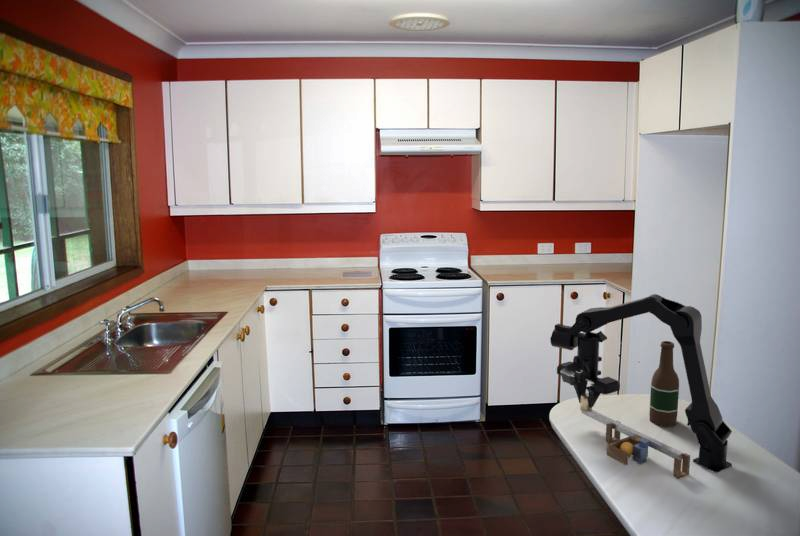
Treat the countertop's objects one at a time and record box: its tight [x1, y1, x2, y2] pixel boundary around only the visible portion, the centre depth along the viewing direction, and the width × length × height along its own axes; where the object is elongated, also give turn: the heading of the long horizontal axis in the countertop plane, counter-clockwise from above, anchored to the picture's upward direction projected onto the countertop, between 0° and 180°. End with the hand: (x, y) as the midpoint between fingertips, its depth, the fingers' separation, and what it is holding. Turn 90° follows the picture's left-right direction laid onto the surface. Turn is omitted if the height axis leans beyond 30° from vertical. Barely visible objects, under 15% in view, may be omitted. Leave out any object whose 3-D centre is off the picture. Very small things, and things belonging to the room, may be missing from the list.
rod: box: [579, 392, 684, 465], centre depth 156 cm, size 6×32×9 cm, turn 28°
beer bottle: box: [649, 340, 680, 428], centre depth 169 cm, size 8×8×24 cm
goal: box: [606, 436, 649, 466], centre depth 153 cm, size 8×6×3 cm
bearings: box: [605, 420, 691, 480], centre depth 152 cm, size 4×22×5 cm, turn 29°
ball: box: [620, 442, 633, 458], centre depth 153 cm, size 4×4×4 cm
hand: (586, 405), depth 169 cm, fingers closed on rod, 3 cm apart
